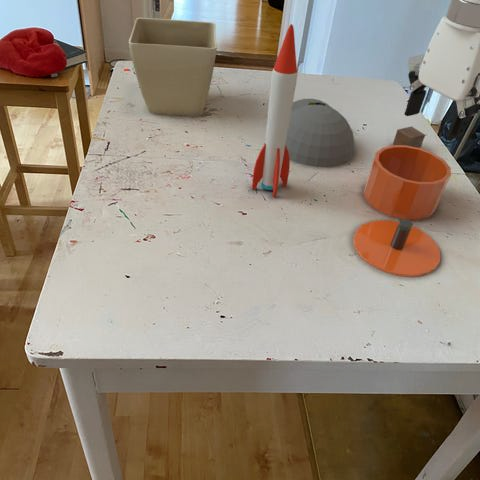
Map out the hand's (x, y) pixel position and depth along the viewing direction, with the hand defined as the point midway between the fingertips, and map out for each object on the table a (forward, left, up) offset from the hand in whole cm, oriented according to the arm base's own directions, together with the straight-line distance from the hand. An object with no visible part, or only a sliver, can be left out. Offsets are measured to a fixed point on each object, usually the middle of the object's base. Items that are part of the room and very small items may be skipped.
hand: (431, 126), depth 83 cm
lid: (+10, +10, -17) cm, 22 cm away
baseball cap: (0, -30, -18) cm, 35 cm away
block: (-19, -18, -17) cm, 32 cm away
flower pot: (+22, -59, -18) cm, 66 cm away
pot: (-2, -2, -17) cm, 18 cm away
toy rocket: (+21, -16, -18) cm, 32 cm away
